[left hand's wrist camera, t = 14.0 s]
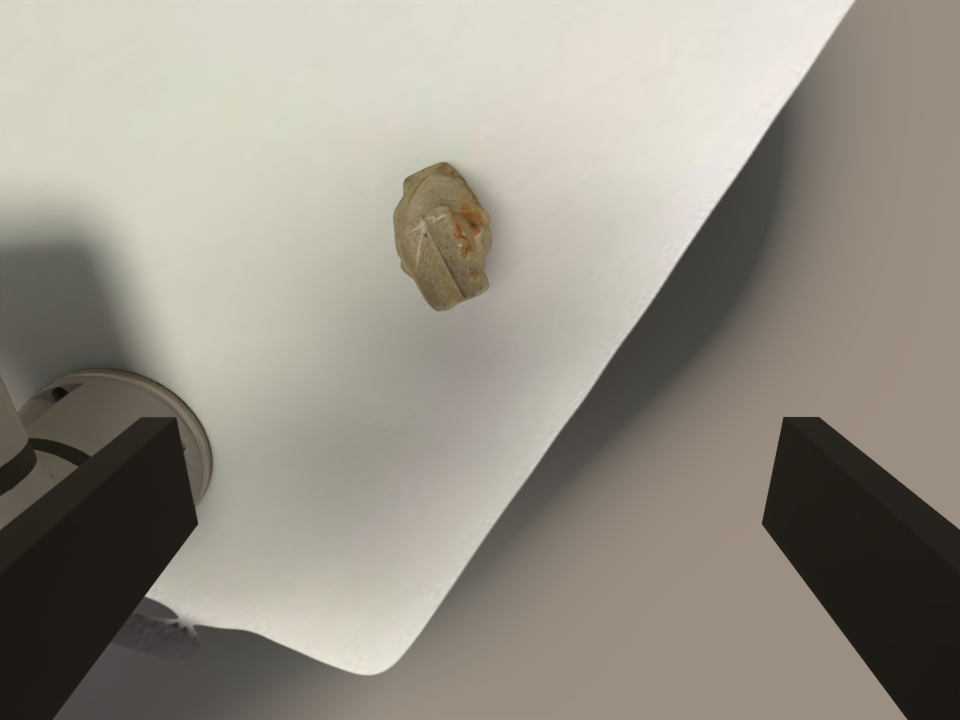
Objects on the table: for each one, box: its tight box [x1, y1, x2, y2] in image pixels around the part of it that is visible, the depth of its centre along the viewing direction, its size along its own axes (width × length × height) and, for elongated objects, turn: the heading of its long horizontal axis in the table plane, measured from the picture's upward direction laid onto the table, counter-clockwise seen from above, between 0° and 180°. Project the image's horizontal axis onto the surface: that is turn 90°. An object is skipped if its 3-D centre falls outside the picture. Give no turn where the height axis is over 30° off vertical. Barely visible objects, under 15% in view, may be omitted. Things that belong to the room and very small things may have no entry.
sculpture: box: [393, 162, 491, 311], centre depth 35 cm, size 6×7×15 cm
